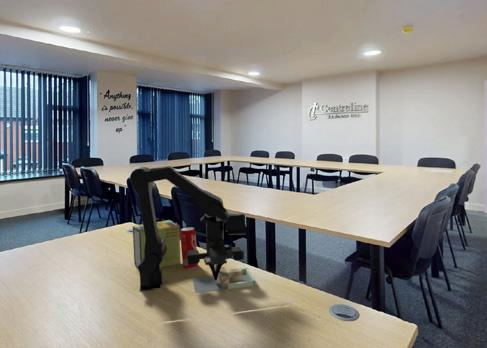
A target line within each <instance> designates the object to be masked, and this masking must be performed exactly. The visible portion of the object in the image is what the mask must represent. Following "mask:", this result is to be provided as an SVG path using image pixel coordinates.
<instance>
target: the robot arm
mask: <svg viewBox="0 0 487 348" xmlns="http://www.w3.org/2000/svg"><path fill="white" fill-rule="evenodd" d="M129 180H130V183H131V185H132V188H133V191H134V192H135V194H136V195H137V198H138V202H139V208H140V214H141V221H142V224H143V227H144V233H145V239H146V240H145V248H144V258H143V260H142V261H141V263H140V264H139V266H138V267H137V266H136V267H137V271H138V272H139V291H148V290H149V291H150V290H154V289H160V288H161V285H163V279H162V278H163V273H162V268H160V266H159V265H160V263H161V262H162V260H163V258H164V256H165V254H166V251H167V247H166V240H165V239H162V240H161V238H160V236H159V234H158V228H157V222H158V221H157V218H156V213H155V206H154V199H153V186H154V182H158V181H164V180H166V181H168V182H170V184H172V185H174V186H175V187H176V188H178V189H179V190H180V191H182V192H183V193H185V194H186V195H188V196H189V198H192V200H195V202H196V203H197V204H198V206H200V207H201V209H203V211H205V213H204V215H203V216H202V217H201V218H200V221H199V222H200V223H204V224H205V230H206V231H205V232H206V233H205V238H206V239H205V240H206V241H205V243H206V252H199V249H197V250H192V251H187V253H186V259H187V264H189V265H190V264H198V265H199V263H200V262H201V260H203V262H204V264H205V266H208V267H209V269H210V270H211V274H212V275H213V277H214V280H217V277H218V275H219V272H220V269H221V267H223V265H224V264H227V263H228V261H227V260H231V259H233V260H234V261H240V260H241V261H243V260H245V253H244V251H243V249H242V247H240V246H225V242H224V236H225V235H224V234H225V233H224V223H225V232H227V234H228V235H233V236H234V235H240V236H241V235H247V225H246V214H245V213H237V214H236V213H235V214H232V213H231V214H229V212H228V210H227V209H226V207H224V201H223V199H222V198H221V197H220V196H217V195H216V194H214V193H211V192H209V191H206V190H204V189H202V188H201V187H199V186H198V185H197V184H195V183H194V182H193V181H191V180H190V179H188V178H187V177H186V176H184V175H183V174H181V173H180V172H179V171H177V170H176V169H175V168H174V167H173V166H171V165H169V166H168V165H167V166H163V167H156V168H155V167H154V168H149V167H146V166H141V167H138V168H135V169H134V170H133V171H132V172H131V173H130V176H129Z"/></svg>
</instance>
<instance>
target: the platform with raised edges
mask: <svg viewBox="0 0 487 348" xmlns="http://www.w3.org/2000/svg"><path fill="white" fill-rule="evenodd" d="M239 268H240V269H241V270H242V281H237V282H229V283H228V286H227V287H222V286H221V283H220V281H219V278H218V277H217V280H214V277H213V274H212V275H203V276H196V277H195V276H194V277H192V284H193V287H194V288H193V289H194V291H195V294H200V293H208V292H218V291H225V290H235V289H242V288H250V287H257V283H258V281H257V280H256V278H255V277H254V275H253V274H252V272H251V271H250V269H249V268H248V267H239Z"/></svg>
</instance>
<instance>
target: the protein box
mask: <svg viewBox="0 0 487 348" xmlns="http://www.w3.org/2000/svg"><path fill="white" fill-rule="evenodd" d="M156 222H157V228H158V234H159V236H160V238H161V240H162V239H165V240H166V247H167V251H166V254H165V256H164V258H163V260H162V262H161V263H160V265H159V266H160V269H162V268H164V267H169V266H173V265H181V238H180V232H181V229H180V224H178V223H176V222H174V221H172V220H170V219H167V220H162V221H156ZM132 239H133V259H134V260H133V262H134V265H135V266H136V267H138V266H139V264H140V263H141V261H142V260H143V258H144V248H145V240H146V239H145V233H144V227H143V223H142V224H136V225H133V226H132Z"/></svg>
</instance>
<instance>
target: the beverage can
mask: <svg viewBox="0 0 487 348" xmlns="http://www.w3.org/2000/svg"><path fill="white" fill-rule="evenodd" d="M196 235H197V234H196V230H195V227H192V226H187V227H182V228H180V251H181V260H182V267H183V269H186V270H190V269H191V270H192V269H195V268H197V267H198V266H199V263H198V264H190V265H189V264H187V259H186V253H187V251H192V250H198V248H197V246H198V245H197V238H196V237H197V236H196Z"/></svg>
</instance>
